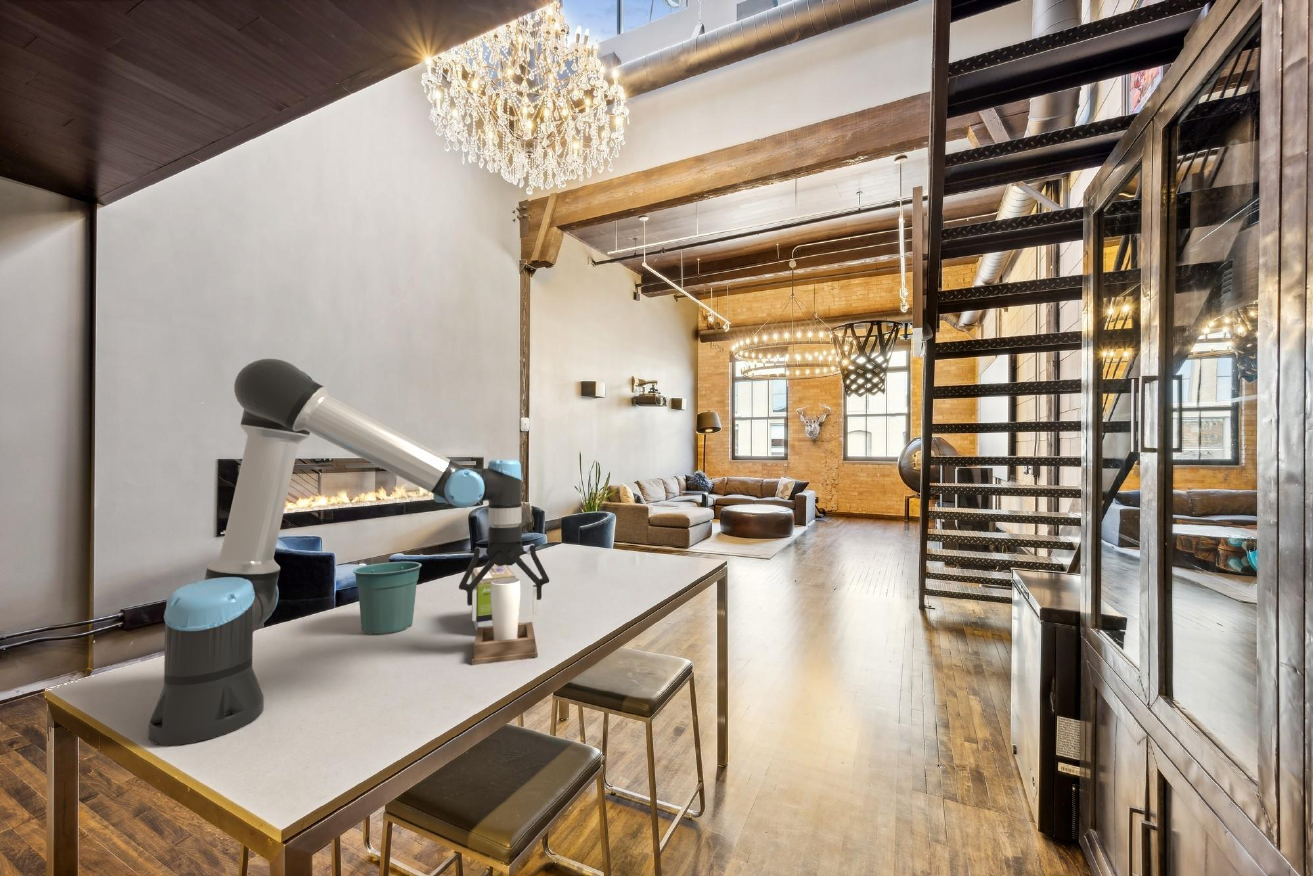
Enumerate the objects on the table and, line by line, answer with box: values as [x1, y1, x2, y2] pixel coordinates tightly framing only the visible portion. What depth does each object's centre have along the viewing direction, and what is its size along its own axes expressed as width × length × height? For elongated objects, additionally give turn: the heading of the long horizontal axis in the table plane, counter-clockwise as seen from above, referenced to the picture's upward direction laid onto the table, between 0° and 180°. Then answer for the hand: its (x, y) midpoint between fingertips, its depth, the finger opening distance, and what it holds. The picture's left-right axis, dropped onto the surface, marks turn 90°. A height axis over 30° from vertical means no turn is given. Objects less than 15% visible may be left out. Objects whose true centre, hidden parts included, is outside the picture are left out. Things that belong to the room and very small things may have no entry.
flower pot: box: [352, 561, 422, 635], centre depth 142 cm, size 16×16×16 cm
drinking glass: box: [491, 577, 522, 641], centre depth 124 cm, size 7×7×15 cm
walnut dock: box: [471, 621, 539, 666], centre depth 124 cm, size 14×14×4 cm
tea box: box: [470, 565, 517, 631], centre depth 143 cm, size 15×10×15 cm, turn 25°
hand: (505, 616), depth 124 cm, fingers open, 13 cm apart
